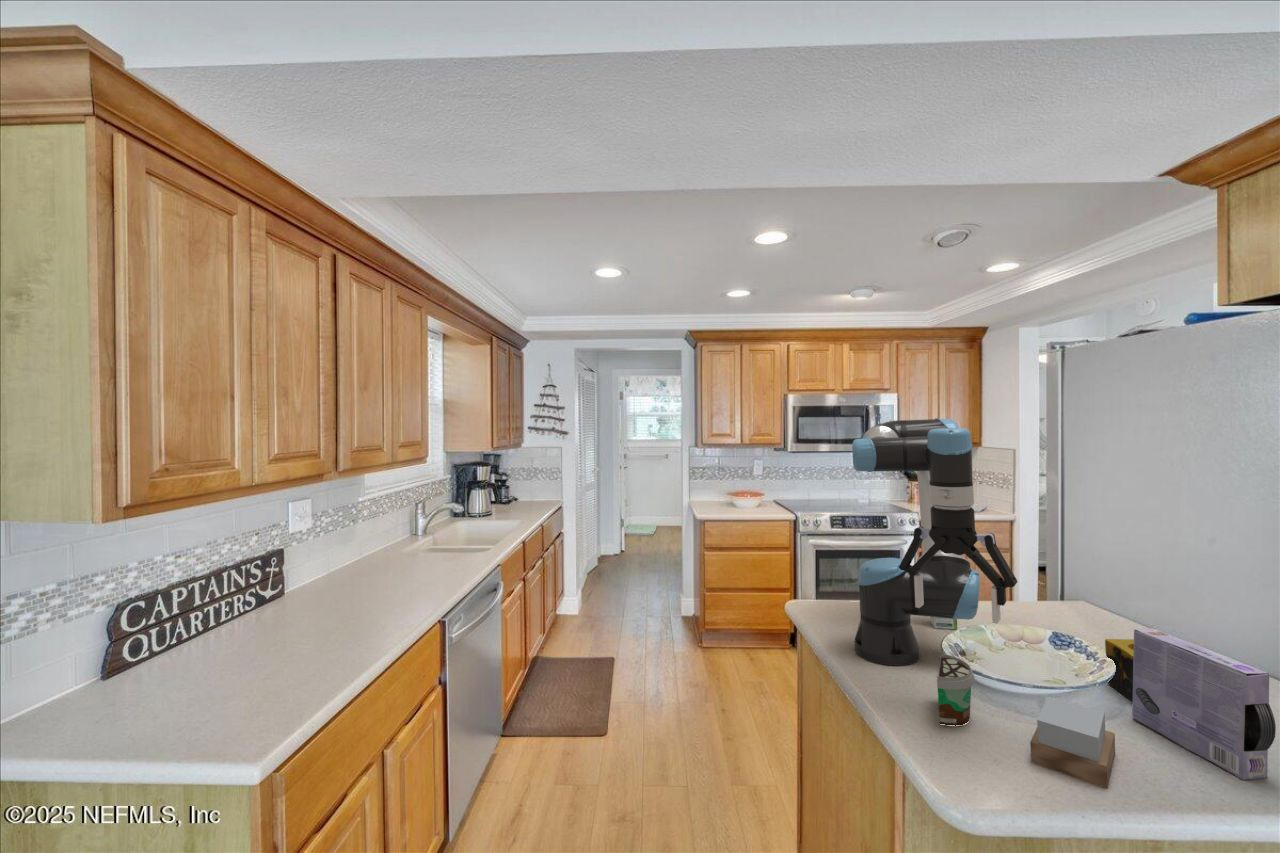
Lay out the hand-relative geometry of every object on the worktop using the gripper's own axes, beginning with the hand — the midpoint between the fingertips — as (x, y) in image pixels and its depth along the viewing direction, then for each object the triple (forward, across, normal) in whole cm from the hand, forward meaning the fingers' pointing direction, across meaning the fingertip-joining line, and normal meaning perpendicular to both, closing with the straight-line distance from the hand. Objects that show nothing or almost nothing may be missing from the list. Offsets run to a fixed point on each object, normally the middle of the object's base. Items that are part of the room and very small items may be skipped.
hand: (956, 613), depth 107 cm
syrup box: (+21, -17, +47) cm, 54 cm away
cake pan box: (+21, +33, +15) cm, 42 cm away
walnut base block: (+21, +18, -2) cm, 28 cm away
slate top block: (+17, +18, -2) cm, 25 cm away
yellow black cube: (+21, +26, +32) cm, 47 cm away
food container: (+21, 0, 0) cm, 21 cm away
